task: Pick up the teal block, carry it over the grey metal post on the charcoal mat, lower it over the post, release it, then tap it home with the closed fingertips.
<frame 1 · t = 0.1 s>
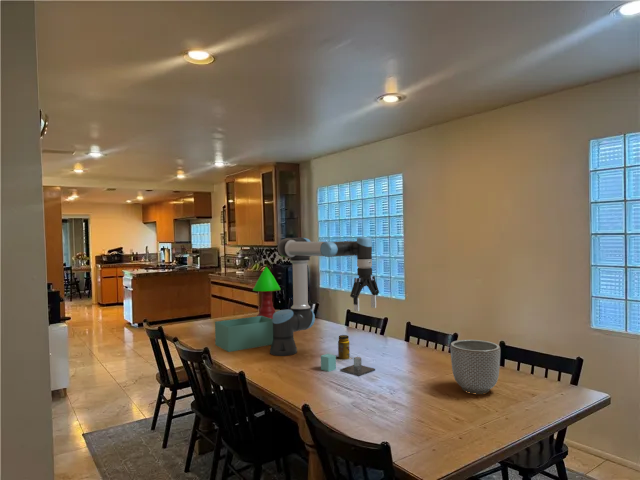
hand: (365, 309, 226), 28 cm above the table, fingers open, 13 cm apart
post: (357, 370, 215), on the table
box: (246, 345, 272), on the table
teal block: (328, 369, 218), on the table
condiment: (342, 358, 237), on the table
table lamp: (267, 329, 314), on the table
planter: (475, 390, 185), on the table
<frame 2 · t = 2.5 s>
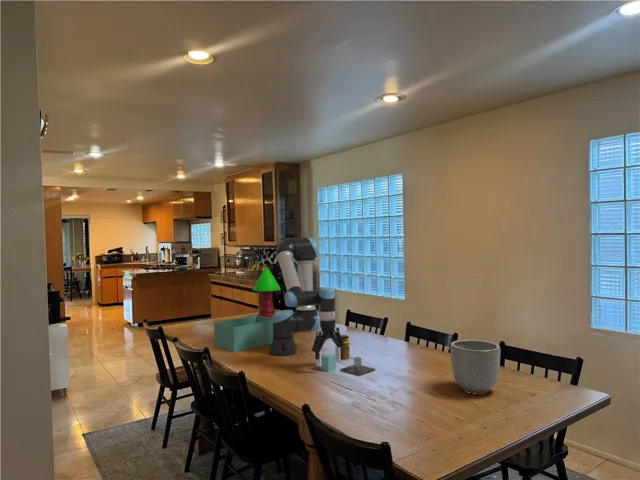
hand: (328, 362, 218), 3 cm above the table, fingers open, 13 cm apart
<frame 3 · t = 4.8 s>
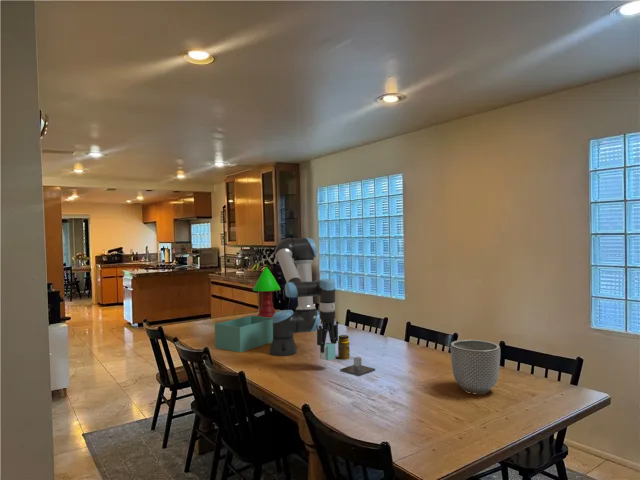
hand: (327, 357, 219), 6 cm above the table, fingers closed on teal block, 5 cm apart
teal block: (327, 358, 219), point 5 cm above the table, touching gripper
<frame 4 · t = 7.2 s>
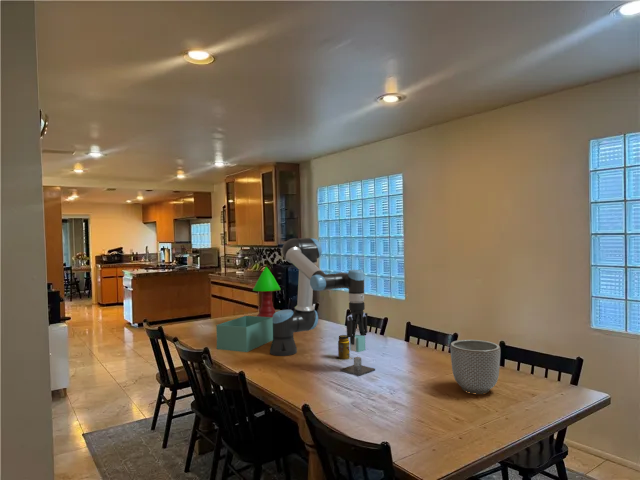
hand: (357, 349, 215), 10 cm above the table, fingers closed on teal block, 5 cm apart
teal block: (357, 350, 215), point 10 cm above the table, touching gripper
when the fingers open (1 cm above the table, at t = 9.6 s): teal block stays where it is, resting on post.
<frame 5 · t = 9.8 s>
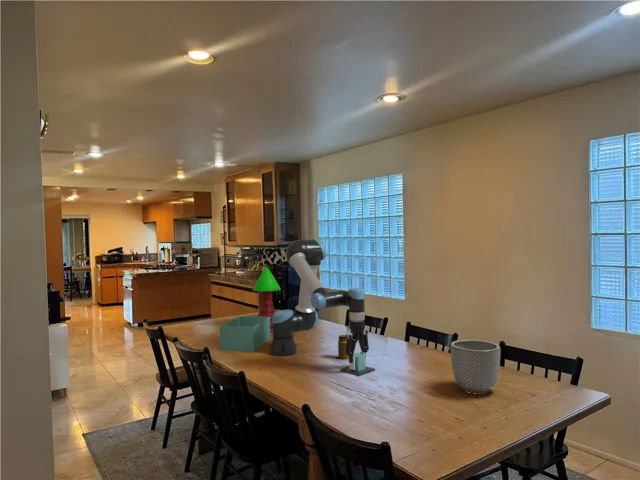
hand: (357, 367, 215), 2 cm above the table, fingers open, 7 cm apart
teal block: (357, 369, 215), point 1 cm above the table, touching post
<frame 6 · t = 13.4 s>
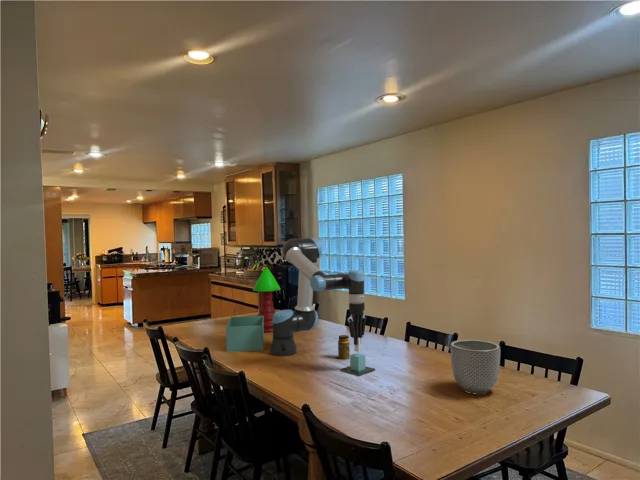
hand: (357, 351, 215), 10 cm above the table, fingers closed
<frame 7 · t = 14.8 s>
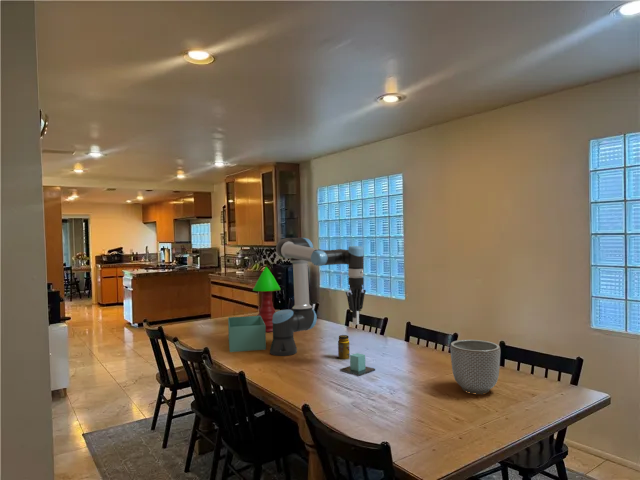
hand: (355, 323, 223), 21 cm above the table, fingers closed
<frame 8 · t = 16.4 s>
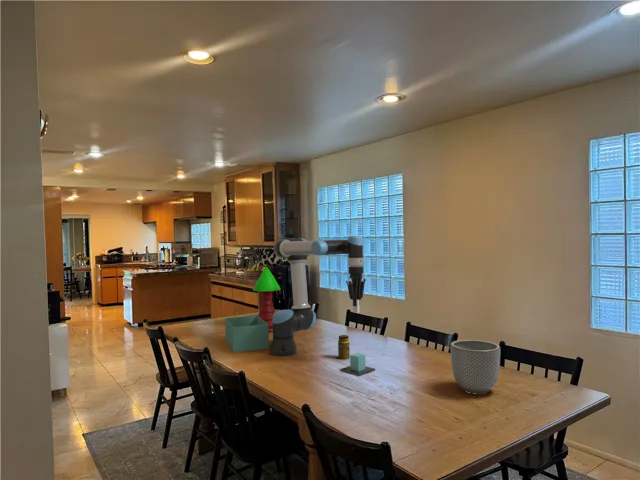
hand: (356, 312, 226), 26 cm above the table, fingers closed
at the end: teal block 0.1 cm from the post (horizontally); teal block point 0.8 cm above the table; the gripper is holding nothing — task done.
